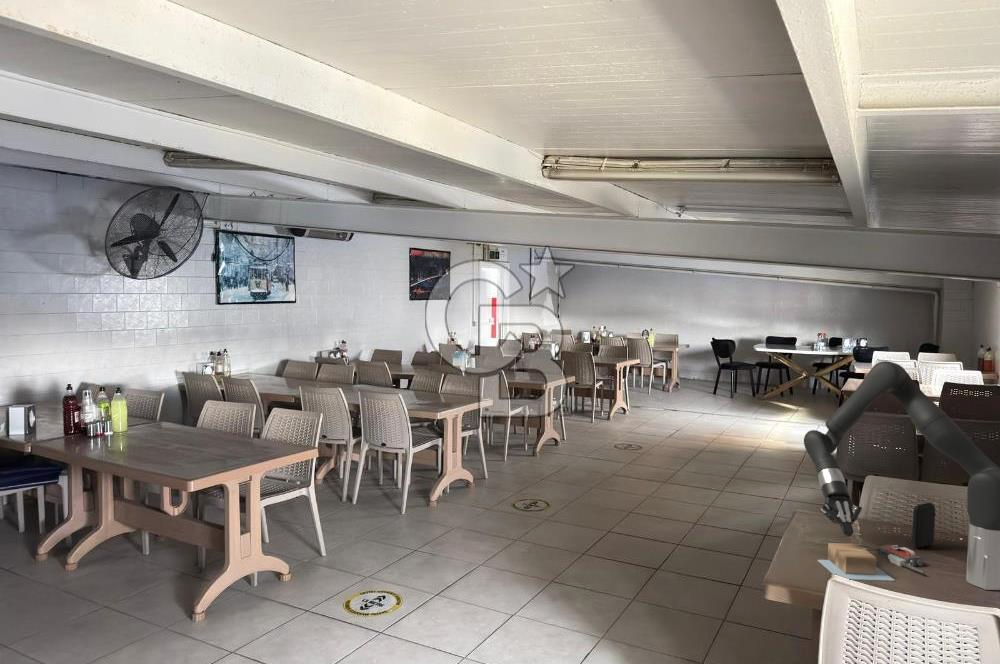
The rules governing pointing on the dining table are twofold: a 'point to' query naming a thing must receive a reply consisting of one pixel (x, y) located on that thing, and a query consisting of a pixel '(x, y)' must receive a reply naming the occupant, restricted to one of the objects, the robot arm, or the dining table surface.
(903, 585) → the dining table surface
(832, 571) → the mat
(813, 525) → the dining table surface
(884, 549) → the walkie-talkie
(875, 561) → the wood grain block
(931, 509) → the carrying case or bag
